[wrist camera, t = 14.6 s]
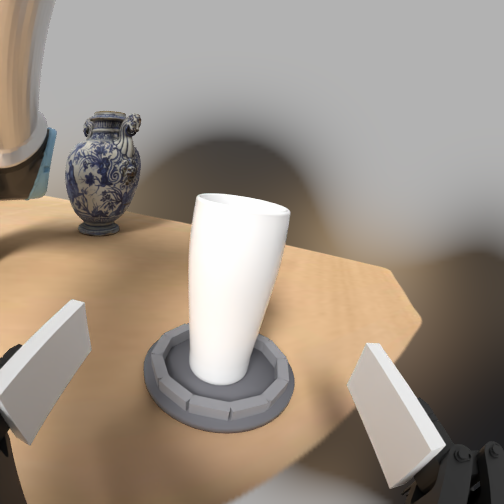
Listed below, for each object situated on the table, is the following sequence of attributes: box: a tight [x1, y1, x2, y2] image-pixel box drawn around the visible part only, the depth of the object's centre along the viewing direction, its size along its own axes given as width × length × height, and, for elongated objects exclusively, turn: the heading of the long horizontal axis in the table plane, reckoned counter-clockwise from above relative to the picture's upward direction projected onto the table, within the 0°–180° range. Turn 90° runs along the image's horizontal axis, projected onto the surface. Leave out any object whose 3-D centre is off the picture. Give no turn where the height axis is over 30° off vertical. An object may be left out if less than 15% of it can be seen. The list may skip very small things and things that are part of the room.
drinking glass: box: [188, 194, 290, 386], centre depth 21 cm, size 7×7×15 cm
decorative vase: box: [65, 111, 141, 236], centre depth 54 cm, size 21×19×28 cm
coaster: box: [144, 323, 294, 433], centre depth 23 cm, size 14×14×2 cm
